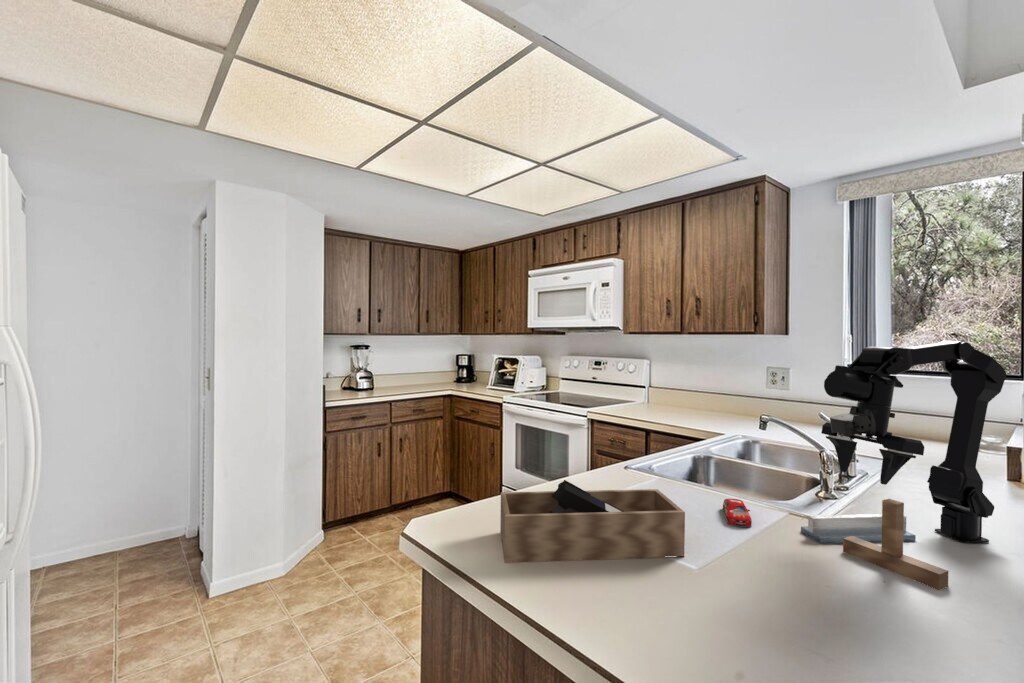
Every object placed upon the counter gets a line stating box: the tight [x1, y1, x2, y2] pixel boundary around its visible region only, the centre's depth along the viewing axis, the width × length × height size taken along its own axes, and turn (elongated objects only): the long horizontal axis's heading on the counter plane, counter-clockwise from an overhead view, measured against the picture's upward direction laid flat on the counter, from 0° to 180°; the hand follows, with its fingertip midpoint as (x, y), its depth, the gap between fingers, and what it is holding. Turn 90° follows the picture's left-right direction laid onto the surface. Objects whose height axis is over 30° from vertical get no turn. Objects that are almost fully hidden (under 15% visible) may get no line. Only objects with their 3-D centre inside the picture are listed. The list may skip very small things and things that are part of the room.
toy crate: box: [499, 488, 686, 564], centre depth 100 cm, size 36×14×9 cm, turn 95°
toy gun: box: [549, 479, 624, 513], centre depth 100 cm, size 3×24×15 cm, turn 109°
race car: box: [722, 498, 753, 528], centre depth 115 cm, size 13×5×4 cm, turn 161°
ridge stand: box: [800, 513, 916, 544], centre depth 105 cm, size 22×6×4 cm, turn 95°
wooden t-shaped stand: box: [842, 498, 950, 591], centre depth 91 cm, size 16×3×13 cm, turn 25°
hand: (862, 477), depth 100 cm, fingers open, 9 cm apart
